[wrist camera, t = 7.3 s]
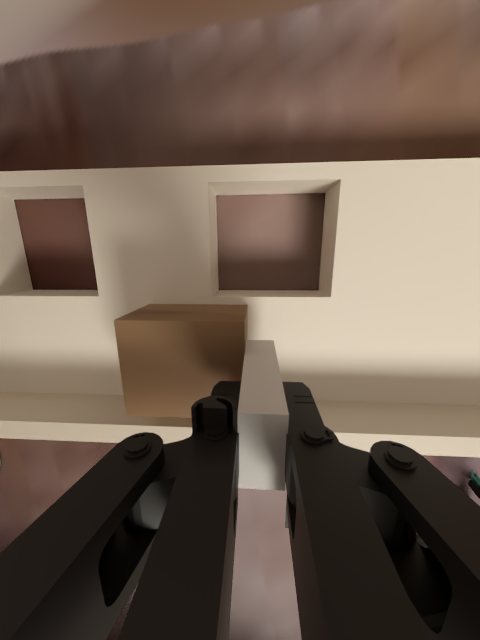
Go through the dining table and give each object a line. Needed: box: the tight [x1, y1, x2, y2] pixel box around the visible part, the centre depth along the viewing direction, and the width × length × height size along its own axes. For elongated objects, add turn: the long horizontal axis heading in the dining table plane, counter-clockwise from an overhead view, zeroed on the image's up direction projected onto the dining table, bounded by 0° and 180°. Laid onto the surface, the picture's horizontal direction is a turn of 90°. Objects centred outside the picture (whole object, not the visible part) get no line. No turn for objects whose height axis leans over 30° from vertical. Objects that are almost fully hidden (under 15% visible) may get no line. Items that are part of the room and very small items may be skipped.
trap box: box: [0, 158, 480, 457], centre depth 15 cm, size 15×40×7 cm, turn 90°
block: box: [114, 304, 248, 418], centre depth 14 cm, size 5×6×4 cm
